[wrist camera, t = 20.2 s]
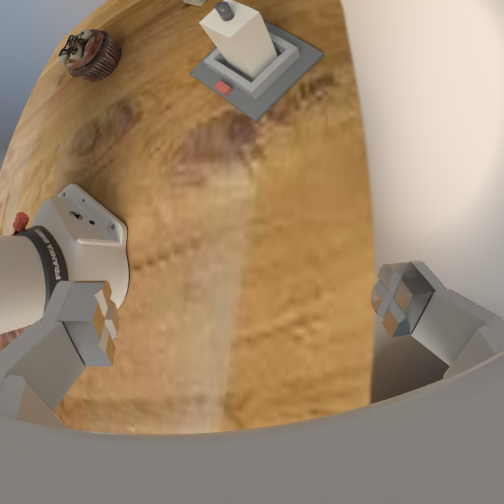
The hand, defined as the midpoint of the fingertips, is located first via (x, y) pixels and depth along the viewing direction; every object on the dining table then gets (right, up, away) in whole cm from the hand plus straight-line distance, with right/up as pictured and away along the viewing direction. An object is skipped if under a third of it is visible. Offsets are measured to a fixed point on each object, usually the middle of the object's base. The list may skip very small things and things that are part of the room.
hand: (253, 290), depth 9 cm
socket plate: (0, +26, +26) cm, 37 cm away
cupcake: (-26, +35, +34) cm, 55 cm away
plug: (0, +26, +26) cm, 36 cm away
